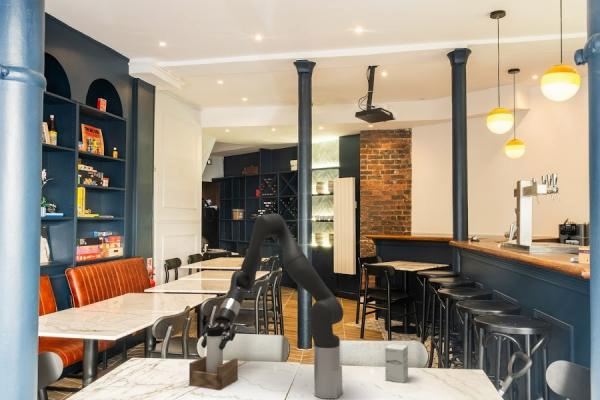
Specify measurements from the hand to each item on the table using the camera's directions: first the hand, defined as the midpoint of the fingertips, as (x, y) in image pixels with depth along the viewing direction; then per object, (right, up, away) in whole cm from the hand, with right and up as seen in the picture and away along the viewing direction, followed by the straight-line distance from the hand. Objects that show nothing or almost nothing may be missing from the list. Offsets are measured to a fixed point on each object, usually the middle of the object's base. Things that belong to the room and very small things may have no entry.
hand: (211, 347), depth 177 cm
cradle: (+1, -14, +1) cm, 14 cm away
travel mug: (+1, -13, +1) cm, 13 cm away
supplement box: (+72, -13, +2) cm, 73 cm away
